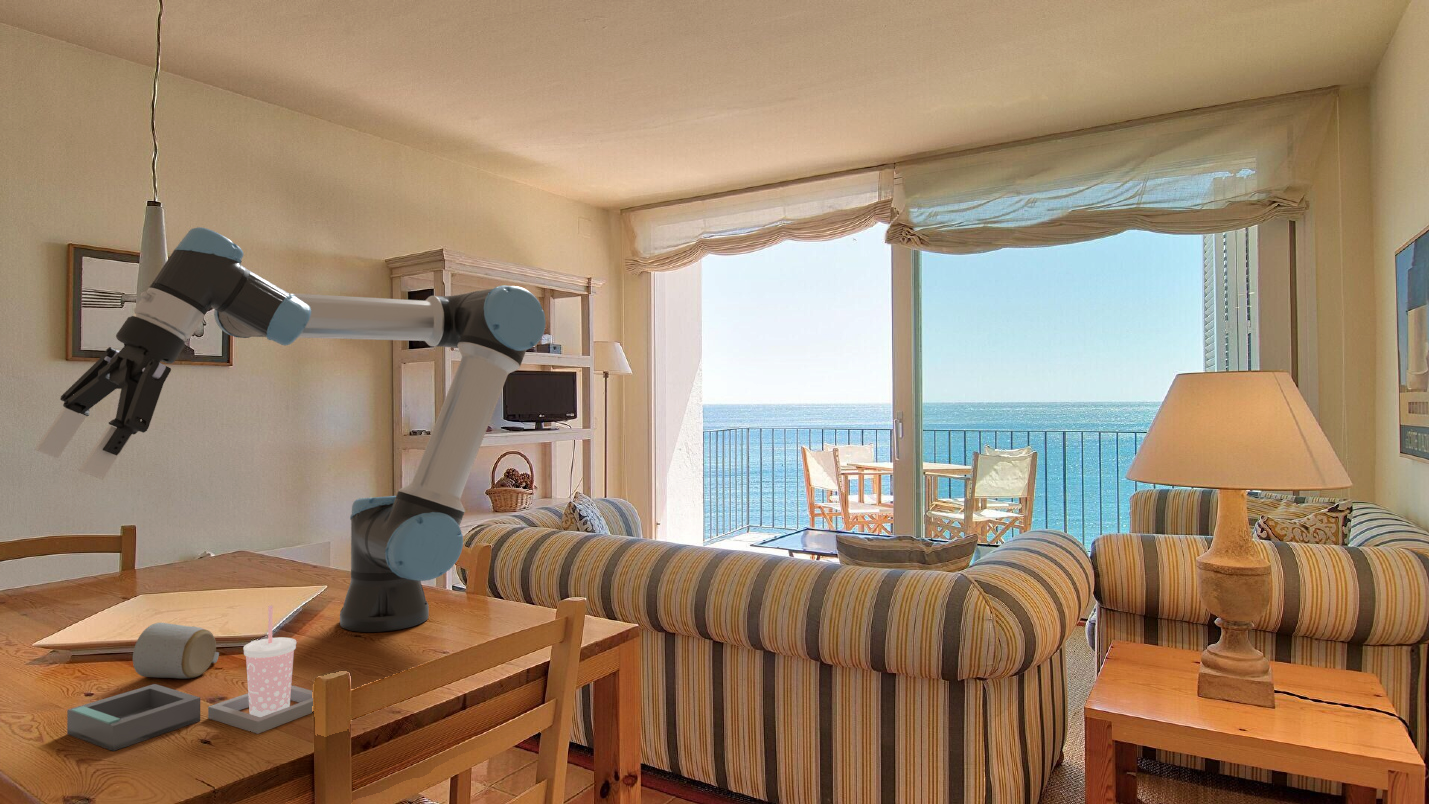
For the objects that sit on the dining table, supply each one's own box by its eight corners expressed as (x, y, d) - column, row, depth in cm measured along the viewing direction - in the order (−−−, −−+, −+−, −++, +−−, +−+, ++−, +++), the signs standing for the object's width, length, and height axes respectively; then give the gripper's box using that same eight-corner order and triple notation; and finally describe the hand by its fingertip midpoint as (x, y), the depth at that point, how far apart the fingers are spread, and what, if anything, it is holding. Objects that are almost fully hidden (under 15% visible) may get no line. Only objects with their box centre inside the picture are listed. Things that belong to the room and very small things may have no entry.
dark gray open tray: (154, 706, 108) (154, 682, 108) (200, 720, 103) (200, 695, 103) (67, 734, 99) (67, 708, 99) (113, 751, 95) (113, 724, 94)
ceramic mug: (185, 686, 115) (186, 632, 115) (130, 684, 116) (131, 630, 116) (233, 663, 126) (234, 613, 126) (183, 661, 126) (184, 611, 127)
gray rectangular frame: (280, 692, 113) (280, 682, 113) (328, 706, 109) (328, 695, 109) (208, 718, 104) (208, 706, 104) (257, 733, 100) (257, 721, 100)
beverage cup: (245, 707, 108) (246, 602, 108) (297, 700, 111) (298, 598, 110) (239, 724, 103) (240, 614, 102) (294, 717, 105) (295, 609, 105)
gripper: (92, 304, 117) (0, 434, 111) (179, 324, 105) (80, 473, 98) (143, 330, 123) (57, 456, 117) (230, 352, 111) (140, 495, 104)
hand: (67, 464), depth 107 cm, fingers open, 13 cm apart
